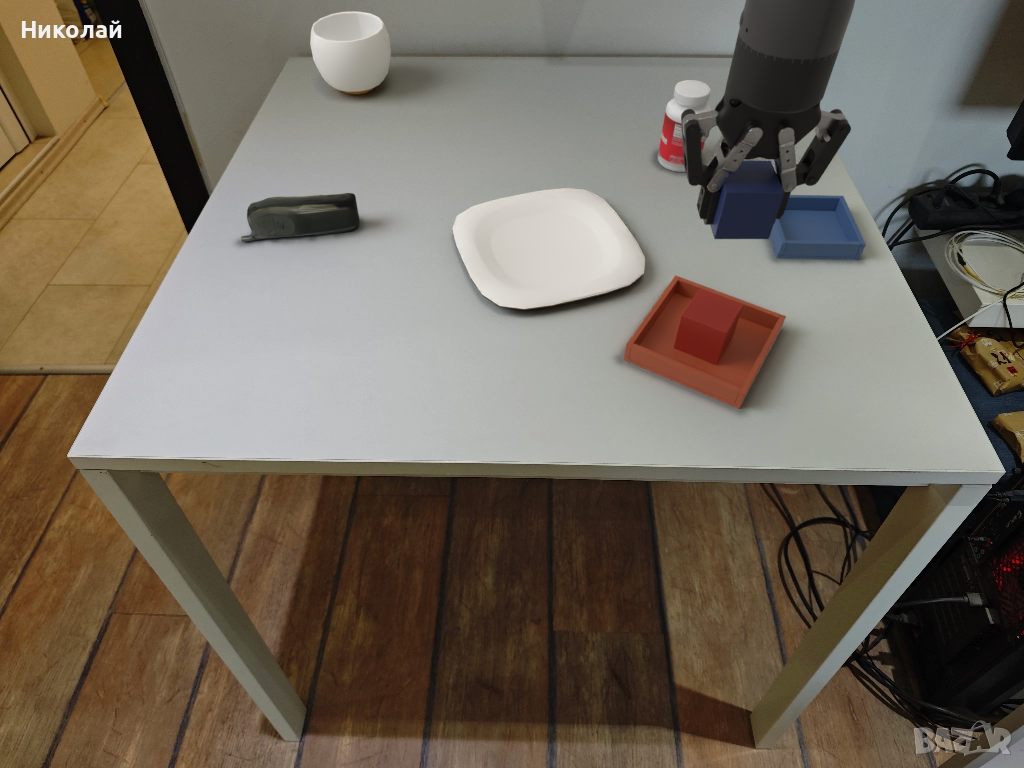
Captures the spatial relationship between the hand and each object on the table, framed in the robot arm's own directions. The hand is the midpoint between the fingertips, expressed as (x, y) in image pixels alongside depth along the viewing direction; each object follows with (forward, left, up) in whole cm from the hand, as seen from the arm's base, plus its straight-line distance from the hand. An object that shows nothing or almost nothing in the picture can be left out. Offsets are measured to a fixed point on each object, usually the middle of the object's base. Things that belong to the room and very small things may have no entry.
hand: (737, 218), depth 67 cm
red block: (0, 0, -17) cm, 17 cm away
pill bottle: (+17, -33, -17) cm, 41 cm away
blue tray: (-4, -26, -17) cm, 32 cm away
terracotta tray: (0, 0, -17) cm, 17 cm away
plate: (+23, -5, -17) cm, 29 cm away
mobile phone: (+52, +8, -17) cm, 55 cm away
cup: (+71, -26, -17) cm, 78 cm away
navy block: (0, 0, 0) cm, 0 cm away
